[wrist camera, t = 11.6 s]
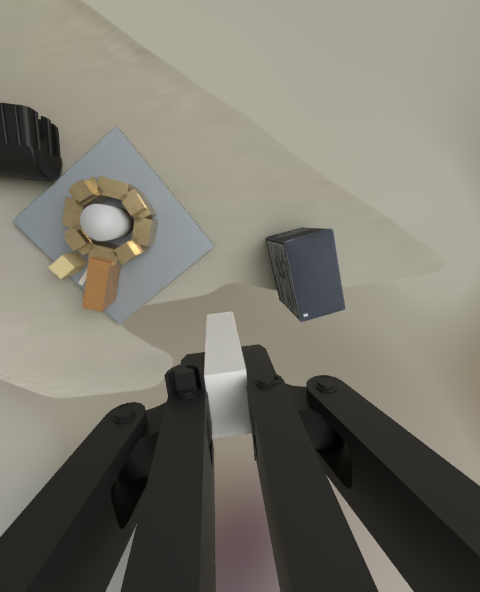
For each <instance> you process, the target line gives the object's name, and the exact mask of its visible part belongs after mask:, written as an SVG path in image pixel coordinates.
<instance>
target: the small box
mask: <svg viewBox="0 0 480 592" xmlns="http://www.w3.org/2000/svg"><path fill="white" fill-rule="evenodd" d="M266 241H267V246H268V250H269V255H270V260H271V264H272V268H273V273H274V278H275V282H276V287H277V291H278V295H279V300H280V301H281V302H282V303H283V304H285V306H287V308H289V310H290V311H291V312H292V313H293V314H294V315H295V316H296V317H297V318H298V319H299V320H300V321H301V322H305V321H308V320H311V319H315V318H318V317H322V316H325V315H328V314H332V313H335V312H339V311H342V310H345V303H344V297H343V291H342V285H341V278H340V272H339V266H338V259H337V252H336V246H335V239H334V232H333V229H320V228H319V229H318V228H299V229H295V230H292V231H288V232H284V233H280V234H276V235H273V236H269V237H267V238H266Z"/></svg>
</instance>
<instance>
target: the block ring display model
mask: <svg viewBox="0 0 480 592" xmlns="http://www.w3.org/2000/svg"><path fill="white" fill-rule="evenodd" d="M92 176H93V177H95V178H98V179H99V176H102V177H106V178H109V179H113V180H116V181H120V182H123V183H127V184H130V185H132V186H134V187H137V190H140V191H142V192H143V193H144V195H145V196H146V198H147V199H148V201H149V202H150V204H151V206H152V207H153V209H154V210H155V212H156V213H157V215H155V216H154V217H152V219H156V220H158V225H157V230H156V235H155V240H154V244H153V245H150V246H149V247H150V248H151V249H149V250H147V251H146V252H144V253H142V254H141V255H139V256H138V257H136V258H134V259H133V260H131V261H129V262H127V263H125V264H123V265H122V264H121V269H120V275H119V282H118V288H117V294H116V300H115V301H114V302H113V303H112V304H111V305H110V306H108V307H107V308H106V309H105V310H104V311H105V312H107V313H108V314H109V315H110V316H111V317H112V318H113V319H114V320H115V321H116V322H117V323H118V324H120V323H121V322H123V321H124V320H125V319H126V318H127V317H129V316H130V315H131V314H132V313H133V312H134V311H136V310H137V309H138V308H139V307H141V306H142V305H143V304H144V303H146V302H147V301H148V300H149V299H151V298H152V297H153V296H154V295H155V294H157V293H158V292H159V291H160V290H161V289H163V288H164V287H165V286H166V285H168V284H169V283H170V282H171V281H172V280H174V279H175V278H176V277H177V276H178V275H180V274H181V273H182V272H183V271H185V270H186V269H187V268H188V267H189V266H191V265H192V264H193V263H194V262H195V261H197V260H198V259H199V258H200V257H202V256H203V255H204V254H205V253H206V252H208V251H209V250H210V249H211V248H212V247H214V244H213V243H212V242H211V241H210V239H209V238H208V237H207V236H206V234H205V233H204V232H203V231H202V229H201V228H200V227H199V226H198V225H197V223H196V222H195V221H194V220H193V218H192V217H191V216H190V215H189V214H188V212H187V211H186V210H185V209H184V207H183V206H182V205H181V204H180V202H179V201H178V200H177V199H176V198H175V196H174V195H173V194H172V193H171V191H170V190H169V189H168V188H167V187H166V185H165V184H164V183H163V182H162V180H161V179H160V178H159V177H158V175H157V174H156V173H155V172H154V171H153V169H152V168H151V167H150V166H149V164H148V163H147V162H146V161H145V160H144V158H143V157H142V156H141V155H140V153H139V152H138V151H137V150H136V148H135V147H134V146H133V145H132V144H131V142H130V141H129V140H128V139H127V137H126V136H125V135H124V134H123V133H122V131H121V130H120V129H119V128H118V127H117V126H116V127H115V128H114V129H113V130H112V131H111V132H110V133H109V134H108V135H107V136H105V137H104V138H103V139H102V140H101V141H100V142H99V143H98V144H97V145H96V146H94V147H93V148H92V149H91V150H90V151H89V152H88V153H87V154H86V155H85V156H83V157H82V158H81V159H80V160H79V161H78V162H77V163H76V164H75V165H74V166H72V167H71V168H70V169H69V170H68V171H67V172H66V173H65V174H64V175H63V176H61V177H60V178H59V179H58V180H57V181H56V182H55V183H54V184H53V185H52V186H50V187H49V188H48V189H47V190H46V191H45V192H44V193H43V194H42V195H41V196H40V197H38V198H37V199H36V200H35V201H34V202H33V203H32V204H31V205H30V206H29V207H27V208H26V209H25V210H24V211H23V212H22V213H21V214H20V215H19V216H18V217H16V218H15V219H14V220H13V221H12V222H13V223H14V224H15V225H16V226H17V227H18V228H19V229H21V230H22V231H23V232H24V233H25V234H26V235H27V236H28V237H29V238H30V239H31V240H32V241H33V242H34V243H35V244H36V245H37V246H38V247H39V248H40V249H41V250H42V251H43V252H44V253H45V254H46V255H47V256H48V257H50V258H51V259H52V260H53V261H54V263H53V264H51V265H50V266H49V267H48V268H49V269H51V270H52V271H53V272H54V273H55V274H56V275H57V276H58V277H59V278H60V279H63V278H66V277H68V276H69V277H70V278H71V279H72V280H73V281H74V282H75V283H76V284H77V285H79V286H80V287H81V288H82V289H83V290H84V291H85V284H86V277H87V269H88V262H89V260H88V256H89V254H87V255H83V256H82V255H81V253H80V252H79V251H78V250H77V251H73V250H72V249H71V247H70V246H69V245H68V243H67V242H66V241H65V239H64V237H65V236H67V235H66V234H65V231H66V230H68V229H70V228H71V227H67V226H63V225H62V223H63V214H64V205H65V197H68V198H73V197H72V195H71V194H70V193H69V191H70V189H69V187H70V186H72V185H73V184H75V183H77V182H78V181H80V180H81V179H84V180H88V179H89V178H91V177H92ZM122 201H123V200H119V199H116V198H110V199H109V200H107V201H105V202H104V203H102V204H92V205H89V206H87V207H86V208H85V209H84V210H83V211H82V213H81V216H80V224H81V227H82V229H83V231H84V233H85V234H86V235H87V236H88V237H90V238H92V239H94V240H97V241H105V242H108V243H112V244H116V245H120V246H121V245H123V244H124V243H126V242H128V241H130V240H131V239H132V234H133V228H134V222H135V218H134V217H133V216H130V214H129V213H128V211H127V210H126V208H125V207H124V205H123V204H122Z"/></svg>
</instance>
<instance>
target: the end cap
mask: <svg viewBox="0 0 480 592" xmlns="http://www.w3.org/2000/svg"><path fill="white" fill-rule="evenodd" d="M61 166H62V159H61V157H60V144H59V132H58V128H57V127H56V125H54V124H52V123H51V121H50V120H49V119H47V118H46V117H43V116H41V119H38V112H36V111H35V110H33V109H31V108H29V107H26V106H22V105H15V104H7V103H0V176H1V177H12V178H22V179H33V180H44V181H54V180H56V179H57V178H58V177H59V175H60V172H61Z"/></svg>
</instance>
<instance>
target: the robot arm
mask: <svg viewBox="0 0 480 592" xmlns="http://www.w3.org/2000/svg"><path fill="white" fill-rule="evenodd" d="M164 376H165V381H166V387H167V392H168V399H167V402H165V403H163V404H162V405H160V406H157V407H155V408H152V409H149V410H145V406H143V405H142V404H141V403H136V402H132V403H126V404H122V405H120V406H118V407H116V408H114V409H112V410H111V411H110V412H109V413H108V414H107V415H106V416H105V417H104V418H103V419H102V420H101V421H100V423H99V424H98V425H97V426H96V427H95V428H94V429H93V431H92V432H91V433H90V434H89V435H88V436H87V438H86V439H85V440H84V441H83V442H82V443H81V444H80V446H79V447H78V448H77V449H76V450H75V451H74V453H73V454H72V455H71V456H70V457H69V459H68V460H67V461H66V462H65V463H64V464H63V465H62V466H61V468H60V469H59V470H58V471H57V472H56V473H55V475H54V476H53V477H52V478H51V479H50V480H49V482H48V483H47V484H46V485H45V486H44V487H43V488H42V490H41V491H40V492H39V493H38V494H37V495H36V496H35V498H34V499H33V500H32V501H31V502H30V503H29V505H28V506H27V507H26V508H25V509H24V510H23V511H22V513H21V514H20V515H19V516H18V517H17V518H16V520H15V521H14V522H13V523H12V524H11V525H10V526H9V528H8V529H7V530H6V531H5V532H4V534H3V535H2V536H1V537H0V592H106V589H107V587H108V585H109V583H110V580H111V579H112V576H113V574H114V572H115V570H116V568H117V566H118V563H119V561H120V559H121V557H122V555H123V553H124V550H125V548H126V546H127V544H128V542H129V540H130V537H131V535H132V533H133V531H134V529H135V527H136V530H135V534H134V539H133V543H132V547H131V551H130V555H129V559H128V563H127V567H126V571H125V575H124V580H123V584H122V588H121V592H216V577H215V576H216V574H215V507H214V506H215V503H214V502H215V501H214V499H215V497H214V448H213V440H212V435H213V439H215V438H222V437H229V436H236V435H242V434H249V433H252V436H253V445H254V457H255V460H256V461H257V467H258V472H259V478H260V483H261V489H262V494H263V499H264V504H265V510H266V515H267V521H268V527H269V532H270V538H271V543H272V548H273V554H274V559H275V565H276V570H277V575H278V581H279V586H280V591H281V592H378V590H377V587H376V585H375V583H374V581H373V579H372V576H371V574H370V572H369V570H368V568H367V565H366V563H365V561H364V558H363V556H362V554H361V552H360V550H359V547H358V545H357V543H356V541H355V539H354V536H353V534H352V532H351V530H350V527H349V525H348V523H347V520H346V518H345V516H344V514H343V512H342V509H341V507H340V505H339V503H338V500H337V498H336V496H335V494H334V491H333V489H332V487H331V485H330V483H329V480H328V478H329V479H330V480H331V481H332V483H333V484H334V486H335V487H336V488H337V490H338V491H339V492H340V493H341V495H342V496H343V498H344V499H345V500H346V502H347V503H348V504H349V506H350V507H351V508H352V510H353V511H354V512H355V514H356V515H357V516H358V517H359V519H360V520H361V522H362V523H363V524H364V526H365V527H366V528H367V530H368V531H369V532H370V534H371V535H372V536H373V538H374V539H375V540H376V542H377V543H378V544H379V546H380V547H381V548H382V550H383V551H384V552H385V553H386V555H387V556H388V558H389V559H390V560H391V562H392V563H393V564H394V566H395V567H396V568H397V570H398V571H399V572H400V574H401V575H402V576H403V578H404V579H405V580H406V582H407V583H408V584H409V586H410V587H411V588H412V590H413V591H414V592H480V486H479V485H478V484H476V483H475V482H474V481H472V480H471V479H470V478H468V477H467V476H466V475H464V474H463V473H462V472H461V471H459V470H458V469H457V468H455V467H454V466H453V465H451V464H450V463H449V462H447V461H446V460H445V459H444V458H442V457H441V456H440V455H438V454H437V453H436V452H434V451H433V450H432V449H430V448H429V447H428V446H427V445H425V444H424V443H423V442H421V441H420V440H419V439H417V438H416V437H414V436H413V435H412V434H411V433H410V432H408V431H407V430H406V429H404V428H403V427H402V426H400V425H399V424H398V423H396V422H395V421H394V420H392V419H391V418H390V417H389V416H387V415H386V414H385V413H383V412H382V411H381V410H379V409H378V408H377V407H375V406H374V405H373V404H372V403H370V402H369V401H368V400H366V399H365V398H364V397H362V396H361V395H360V394H358V393H357V392H356V391H355V390H353V389H352V388H351V387H349V386H348V385H347V384H345V383H344V382H343V381H341V380H339V379H338V378H336V377H332V376H328V375H320V376H315V377H313V378H310V379H309V380H308V381H307V386H306V387H300V386H291V385H288V384H285V382H284V380H283V379H282V378H281V376H279V375H277V374H276V372H275V370H274V367H273V365H272V363H271V360H270V358H269V356H268V353H267V351H266V349H265V348H264V347H262V346H261V345H251V346H243V347H241V346H240V341H239V337H238V333H237V328H236V324H235V320H234V315H233V312H225V313H215V314H208V315H207V326H206V347H205V352H202V353H195V354H187V355H186V356H185V357H184V358H183V359H182V360H181V364H180V365H177V366H175V367H173V368H171V369H170V370H168V371H167V372H166V374H165V375H164ZM326 475H327V476H328V478H327V476H326ZM136 524H137V526H136Z"/></svg>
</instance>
